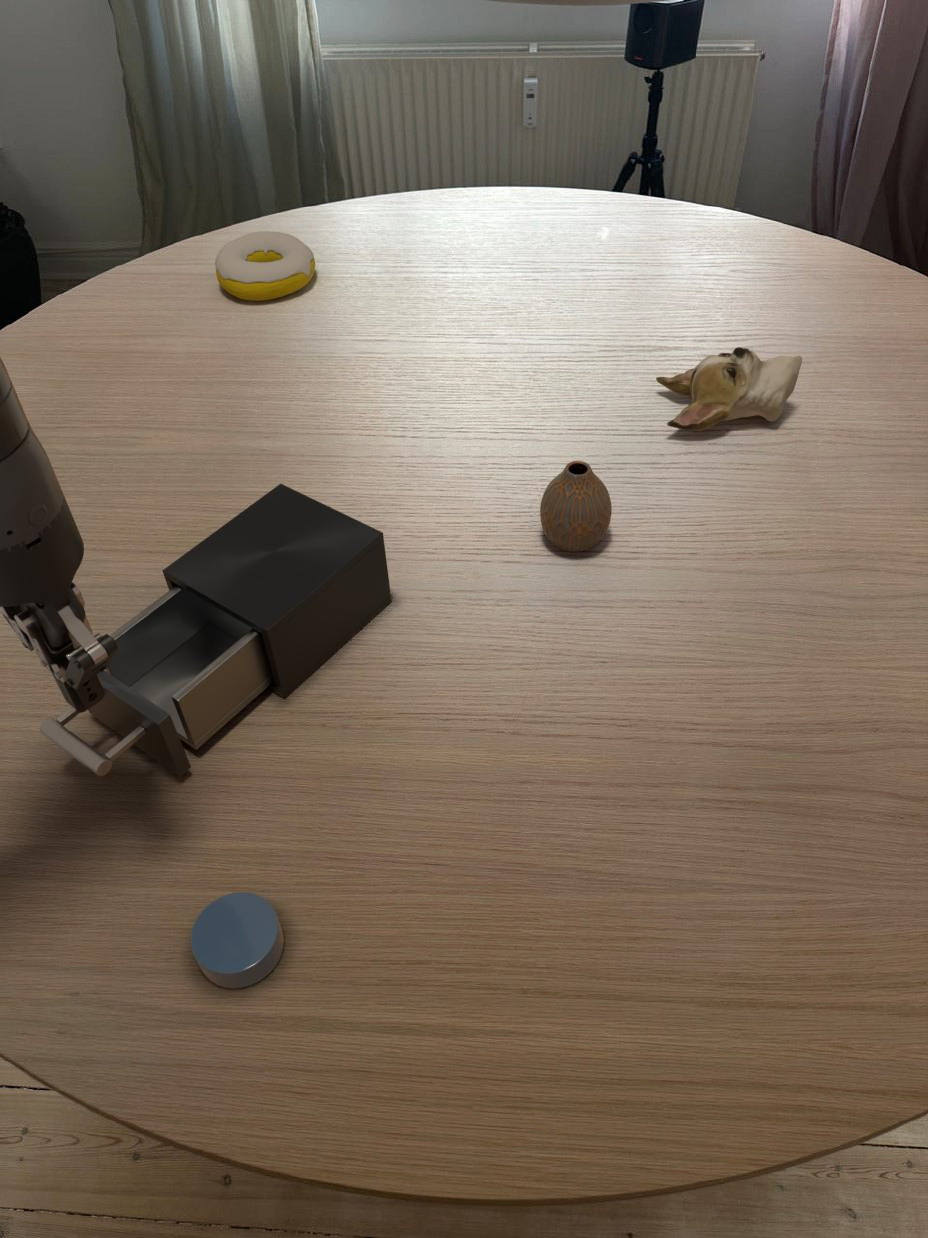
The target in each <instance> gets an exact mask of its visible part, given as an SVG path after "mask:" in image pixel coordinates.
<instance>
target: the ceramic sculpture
mask: <svg viewBox="0 0 928 1238" xmlns="http://www.w3.org/2000/svg"><path fill="white" fill-rule="evenodd" d="M802 364H803V357H802V356H801V355H795V356H787V355H780V356H779V355H778V356H776V357H775V356H774V357H771V358H768V359H765V360H761V359H760V358H759V356H758V354H757V353H756V352H754V351H753V350H750V349H749V348H746V347H739V346H738V347H735V348H734V349H733V351H732V352H731V353H730V352H719V354H711V355H708V356H706V357H705V358H704V359H702V360H701V361H700V362H699V363H698V364H696V366H695V367H694V368H690V369H689V370H688V369H687V370H686V371H684V372H683V373H679V374H676V375H674V376H673V377H668V376H667V377H666V376H657V377H655V380H656V382H657V383H658V384H660V385H661V386H663V387H665V388H666V389H668V390H669V391H671V392H673V393H674V394H678V395H680V396H686V397H687V396H689V399H690V404H689V405H687V406H685V407H683V409H682V410H681V411H680V412H679V413H678V414H677V415H676V417H675V418H674V419H672V420H670V421H668V422H667V423H666V425H667V427H671V428H675V429H679V430H685V431H691V432H692V431H693V432H694V431H695V432H702V431H705V430H707V429H710V428H712V427H714V426H716V425H717V424H720V423H722V422H724V421H725V422H726V421H730V420H736V419H741V418H747V417H753V416H761V417H763V418H764V419H765V420H766V421H768V422H775V421H777V420H778V418H779V417H780V416H781V414H782V412H783V408H784V406H785V405H786V403H787V401H788V400H789V398H790V397H791V395H792V394H793V393H794V391H795V387H796V385H797V382H798V377H799V374H800V369H801V368H802Z"/></svg>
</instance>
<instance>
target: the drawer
mask: <svg viewBox="0 0 928 1238" xmlns="http://www.w3.org/2000/svg"><path fill="white" fill-rule="evenodd" d="M109 636H110V637H112V638H113V639H114V640H115V641H116V645H117V647H118V651H117V652H116V654H115V656H114V658H113V660H112V662H111V663H110V665H109V667H108V668H107V669H106V670H104V671H103V672H100V673H98V674H97V677H98V679H99V681H100V683H101V685H102V687H103V690H104V692H105V695H104V698H103V699H102V700H101V701H99V702H98V703H96V704H95V705H94V706H92V707H91V708H89V709H88V710H87V711H88V713H89V714H90V715H91V716H93V717H94V718H96V719H97V720H98V721H100V722H101V723H103V724H104V725H106V726H107V727H108V728H110V729H111V730H113V731H114V732H115V733H117V734H118V735H119V736H121V737H122V738H123V739H122V740H120V741H119V742H118V743H117V744H115V745H114V746H112V748H111V749H109V751H107V752H106V753H105V754H104V755H103V753H101V752H100V751H98V750H97V749H96V748H94V747H93V746H92V745H90V744H88V743H87V742H86V741H85V740H83V739H82V738H80V737H79V736H78V735H76V734H75V733H73V732H72V731H71V730H69V729H68V728H67V727H65V726H66V725H67V724H68V723H69V722H71V721H72V720H73V719H74V718H76V717H77V716H78V715H79V714H80V713H79V712H78V711H77V710H75V709H74V708H73V707H72V706H71V707H69V708H68V709H67V710H66V711H64V712H63V713H62V714H60V715H59V716H57V718H47V719H45V720H43V722H42V723H41V724H40V726H39V732H40V734H42V735H43V736H44V737H46V738H47V739H48V740H50V741H51V742H52V743H53V744H55V745H57V747H58V748H60V749H62V750H63V751H64V752H66V753H67V754H68V755H70V756H71V757H72V758H73V759H75V760H76V761H77V762H78V763H80V764H82V765H83V766H84V767H86V768H87V769H89V771H91V772H92V773H94V774H95V775H96V776H98V777H104V776H106V775H107V774H109V773H110V771H111V770H112V767H113V762H115V760H116V759H118V758H119V757H120V756H121V755H123V754H124V753H125V752H126V751H127V750H129V749H130V748H131V747H132V746H133V745H134V746H135V747H137V748H138V749H140V750H141V751H142V752H143V753H145V754H146V755H148V756H150V757H151V758H152V759H153V760H155V761H156V762H158V763H159V764H161V765H162V766H163V767H165V768H167V769H168V770H169V771H171V772H172V773H174V774H175V775H176V776H178V778H181V777H182V776H183V775H185V774H186V773H187V771H189V770H190V769H191V767H192V766H191V763H190V761H189V758H188V756H187V754H186V751H185V749H184V746H183V743H182V741H183V742H184V743H186V744H187V745H188V746H190V747H191V748H193V749H194V750H198V749H200V748H201V747H202V746H203V745H204V744H205V743H206V742H207V741H208V740H209V739H211V738H212V737H213V736H214V735H215V734H217V733H218V731H220V730H221V729H222V728H223V727H224V726H225V725H226V724H228V722H230V721H231V720H232V719H233V718H234V717H235V716H236V715H237V714H239V713H240V712H241V711H242V710H243V709H244V708H245V707H247V706H248V705H249V704H250V703H251V702H253V700H255V699H256V698H257V697H258V696H259V695H260V694H261V693H262V692H264V691H265V690H266V689H267V687H268V686H269V685H270V684H271V683H272V682H273V681H274V678H273V674H272V670H271V667H270V663H269V659H268V655H267V652H266V648H265V644H264V640H263V637H262V633H260V632H258V631H257V630H255V629H253V628H251V627H250V626H248V625H246V624H244V623H243V622H241V621H239V620H238V619H236V618H234V617H232V616H231V615H229V614H227V613H226V612H224V611H222V610H220V609H219V608H217V607H215V606H213V605H212V604H210V603H208V602H207V601H205V600H203V599H201V598H200V597H198V596H196V595H195V594H193V593H191V592H189V591H188V590H186V589H184V588H182V587H181V586H179V585H176V586H175V587H173V588H172V589H171V590H169V589H168V591H167V592H165V593H164V594H162V596H160V597H159V598H157V599H156V600H155V601H153V602H152V603H150V604H149V605H148V606H146V607H145V608H144V609H143V610H141V612H139V613H138V614H136V615H135V616H133V617H132V618H131V619H130V620H128V621H127V622H126V623H124V624H123V625H121V626H120V627H119V628H117V629H116V630H115V631H114V632H112V633H111V634H110V635H109Z"/></svg>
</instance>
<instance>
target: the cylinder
mask: <svg viewBox="0 0 928 1238" xmlns="http://www.w3.org/2000/svg"><path fill="white" fill-rule="evenodd" d="M284 946H285V936H284V932H283V929H282V925H281V922H280V920H279V916H278V914H277V912H276V910H275V908H274V906H273V905H272V904H271V903H270V902H269V901H268V900H267V899H265V898H264V897H263V896H261V895H259V894H256V893H252V892H246V891H239V892H231V893H228V894H225V895H223V896H220V897H219V898H216V899H215V900H213V901H211V902H210V903H209V904H208V905H206V906H205V908H204V909H202V910H201V912H200V914H199V915H198V917H197V918H196V919H195V922H194V923H193V926H192V928H191V933H190V947H191V948H190V949H191V951H192V954H193V956H194V959H195V961H196V962H197V964H198V967H199V968H200V970H201V972H202V973H203V975H204V976H205V977H206V979H207V980H208V981H209V982H211V983H213V984H214V985H216V986H218V987H221V988H224V989H233V990H234V989H244V988H247V987H250V986H253V985H255V984H257V983H259V982H261V981H262V980H264V979H265V978H266V977H267V976H268V975H269V974H271V973H272V971H273V970H274V968H276V966H277V965H278V963H279V961H280V960H281V957H282V954H283V951H284Z"/></svg>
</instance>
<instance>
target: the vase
mask: <svg viewBox="0 0 928 1238" xmlns="http://www.w3.org/2000/svg"><path fill="white" fill-rule="evenodd" d="M612 511H613V510H612V500H611V495H610V493H609V491H608V488H607V486H606V484H605V483H604V482H603V481H602V480H601V478H599V476H598V475H596V474H595V473H594V470H593V469H592V467H591V465H590V464H589V463H587V462H585V461H582V460H573V461H570V462H568V463H567V464H566V465H565V467H563V470H562V471H561V472H560V473H559V474H557V475H556V476H555V477H554V478H553V479H552V480H551V481H549V483H548V484H547V486H546V488H545V489H544V492H543V495H542V498H541V501H540V506H539V516H540V517H539V518H540V524H541V528H542V529H543V532H544V534H545V536H546V538H547V539H548V540H549V541H550V542H551V543H552V544H553V545H554V546H556V547H558V548H559V549H561V550H563V551H565V552H566V551H567V552H572V553H577V552H579V553H580V552H584V551H586V550H589V549H591V548H593V547H594V546H596V545H598V543H599V542H600V541H602V539H603V538H604V537H605V535H606V534H607V531H608V529H609V527H610V524H611V519H612Z"/></svg>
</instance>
